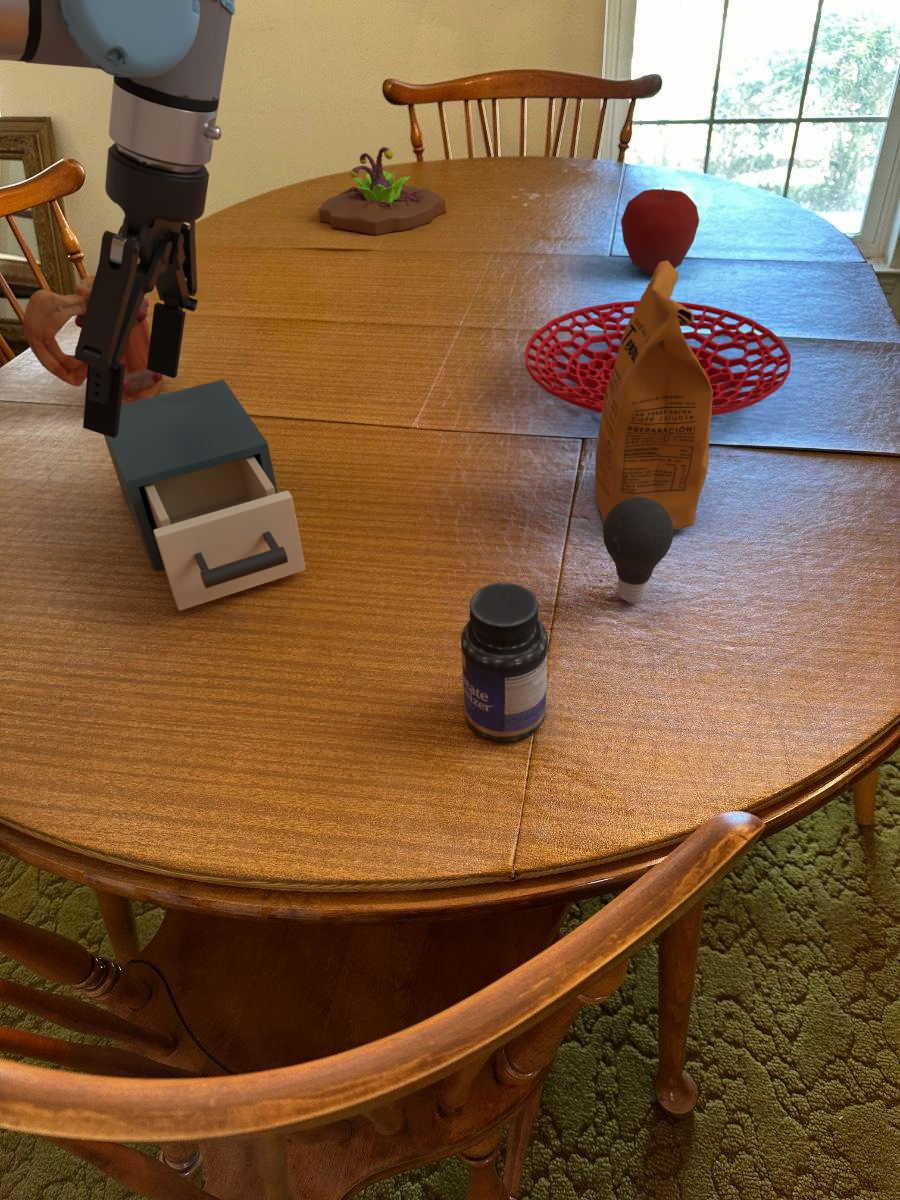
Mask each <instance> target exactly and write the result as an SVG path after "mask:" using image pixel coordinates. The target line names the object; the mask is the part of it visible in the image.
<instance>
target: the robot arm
mask: <svg viewBox="0 0 900 1200" xmlns="http://www.w3.org/2000/svg"><path fill="white" fill-rule="evenodd" d="M235 3H236V0H0V61H9V62H10V61H11V62H23V63H25V64H35V65H36V64H37V65H46V66H60V67H74V68H86V69H87V68H88V69H95V70H102V72H104V73H106V74H107V75H109V76H113V82H112V93H111V101H110V102H111V103H110V113H109V114H110V115H109V123H108V124H109V126H108V135H109V138H110V139H111V140H112V141H113V142H114V143H113V144H112V145H110V146H109V147H108V149H107V159H106V173H105V184H104V189H105V193H106V195H107V197H108V198H109V200H111V202H113V203H114V204H116V205H118V206H119V208H120V209H121V210H122V212H123V213H124V218H123V220H122V225H121V226H120V227H119V229H118V232H117V233H115V232H113V231H110V230H105V231H104V232H103V234H102V236H101V244H100V250H99V251H100V252H99V260H98V265H97V268H96V272H95V275H94V276H95V279H94V283H93V287H92V291H91V294H90V298H89V302H88V306H87V309H86V313H85V317H84V321H83V325H82V328H80V332H79V335H78V340H77V344H76V346H75V349H74V356H75V359H76V360H78V361H81V362H84V363H87V364H88V369H87V378H86V381H85V382H86V384H85V397H84V409H83V421H82V429H85V430H88V431H90V432H91V431H92V432H94V433H97V434H100V435H103V436H104V435H106V436H109V437H112V438H115V437H116V436H117V435H118V431H119V421H120V411H121V405H122V404H121V402H122V392H123V382H124V373H125V364H122V363H121V359H122V356H123V353H124V351H125V348H126V345H127V342H128V340H129V337H130V334H131V332H132V329H133V326H134V323H135V321H136V318H137V315H138V312H139V310H140V307H141V304H142V301H143V299H144V298H145V297H146V296H145V295H147V294H149V293H151V292H153V291H154V289H155V288H156V292H157V295H158V298H159V301H161V302H163V303H161V302H155V304H154V305H153V312H152V322H151V323H152V324H151V330H150V335H151V337H150V346H149V354H148V363H147V369H148V370H151V371H154V372H156V373H159V374H162V375H163V376H166V377H169V378H171V379H175V378H177V377H178V372H179V364H180V356H181V350H182V344H183V343H182V342H183V335H184V328H185V321H186V314H187V312H186V311H184V310H187V311H190V312H193V313H194V312H195V311H196V309H197V307H198V299H196V298H194V297H195V296H196V294H197V293H198V270H197V248H196V246H197V245H196V221H197V220H199V219H200V218H201V217H202V216H203V215H204V213H205V209H206V203H207V202H206V201H207V195H208V187H209V181H210V179H209V178H210V173H209V171H208V168H207V167H206V166H205V165H207V164H209V163H210V161H211V160H212V154H213V146H214V141H218V140H220V139H221V137H222V135H223V132H222V129H221V128H222V127H219V126H218V125H216V122H217V119H218V111H219V106H220V105H219V104H220V98H221V91H222V84H223V78H224V71H225V64H226V59H227V51H228V45H229V37H230V30H231V25H232V19H233V16H235V13H236V8H235Z"/></svg>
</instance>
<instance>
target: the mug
mask: <svg viewBox="0 0 900 1200" xmlns="http://www.w3.org/2000/svg"><path fill="white" fill-rule="evenodd" d="M95 276H96V275H90V276H88V277H85V278H83V279H82V280H80V282H79V283H78V284H76V286H75V293H72V294H66V295H62V294H58V293H56V292H52V291H51V290H48V289H39V290H36V291H35V292H34V293H33V294H31V295H30V297H29V299H28V302H27V304H26V307H25V310H24V314H23V332H24V336H25V339H26V341H27V344H28V345H29V348H30V349H31V352H32V353H33V355H34V357H35V358H36V359H37V360H38V362H39V363H40V365H41V366H42V367H43V368H44V369H46V371H48V372H49V373H50V374H52V375H53V376H55V377H56V378H58V379H59V380H61V381H63V382H65V383H66V384H69V385H71V386H74V387H80V386H82V385H83V384H84V382H85V381H86V380H87V369H88V364H87V363H84V362H81V361H78V360H76V359H75V355H73V354H66V353H65V352H63V350H62V348H61V347H60V345H59V343H58V341H57V340H56V335H57V334H58V333H59V332H60V331H61V330H62V329H63V328H64V327H65V325H66V324H67V323H68V322H69V320H71V318H72V317H75V319H74V324H75V325H76V327H78V328H80V329H81V328H82V325H83V321H84V317H85V313H86V309H87V306H88V302H89V298H90V294H91V291H92V287H93V283H94V279H95ZM149 306H150V303H149V299H147V298H145V297H144V299H143V301H142V304H141V307H140V310H139V312H138V315H137V318H136V321H135V323H134V326H133V329H132V332H131V334H130V337H129V340H128V342H127V345H126V348H125V351H124V353H123V356H122V359H121V363H122V364H125V373H124V382H123V392H122V402H121V405H122V404H126V403H130V402H134V401H138V400H142V399H146V398H150V397H154V396H158V394H159V393H160V391H161V390H162V389H163V387H164V380H163V377H164V375H162V374H159V373H156V372H154V371H151V370H148V369H147V363H148V354H149V346H150V337H151V330H150V325H149V323H148V320H147V317H148V315H149V314H148V308H149Z"/></svg>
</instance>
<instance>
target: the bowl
mask: <svg viewBox="0 0 900 1200" xmlns="http://www.w3.org/2000/svg"><path fill="white" fill-rule="evenodd" d="M639 302H640V300H629V301H615V302H610V303H603V304H599V305H593V306H588V307H584V308H580V309H577V310H573V311H570V312H568V313H565V314H563V315H560V316H558V317H556V318H553V319H552V320H551V319H550V321H549V322H547V323H546V324H545V325H543V326H541V327H540V328H539V329H538V330H536V331H535V332H534V334H533V335H532V336H531V337H530V338H529V339H528V341H527V344H526V347H525V350H524V362H525V368H526V370H527V372H528V373H529V375H530V377H531V379H532V380H533V381H535V383H536V384H538V385H539V386H540V387H541V388H542V389H544V390H545V391H546V392H547V393H548V394H550V395H552V396H554V397H556V398H558V399H560V400H562V401H564V402H565V403H569V404H571V405H572V406H573V405H574V406H577V407H579V408H583V409H586V410H589V411H593V412H596V413H600V414H602V406H603V400H604V396H605V393H606V390H607V386H608V383H609V380H610V377H611V374H612V371H613V368H614V365H615V361H616V357H617V355H618V351H619V345H620V343H619V344H618V343H613V342H612V341H614V340H615V341H616V340H619V341H621V340H622V337H623V334H624V331H625V329H626V327H627V324H628V323H621V322H622V321H624V320H625V319H626V320H628V319H629V320H630V318H631V317H632V315H633V313H634V312H635V310H636V308H637V306H638V304H639ZM677 302H678V303H679V304H681V305H682V306H684V307H686V308H687V309H689V310H690V311H696V312H697V311H699V312H702V314H692V315H693V317H694V321H693V323H691V324H688V325H686V324H682V323H681V324H680V327H690V328H691V329H693V331H685V332H682V333H683V336H684V338H685V340H695V341H696V342H698V343H699V344H701V345H700V346H699V347H697V346H690V345H689V347H690V348H691V350H692V351H693V353H694V355H695V356H696V358H697V360H698V361H699V363H700V365H701V367H702V368H703V370H704V372H705V374H706V376H707V378H708V380H709V382H710V385H711V387H712V390H713V396H712V412H711V417H713V416H718V415H719V416H720V415H723V414H728V413H733V412H735V411H739V410H743V409H745V408H749V407H751V406H753V405H756V404H758V403H760V402H762V401H764V400H765V399H767V398H768V397H770V396H771V395H772V394H774V393H775V392H777V391H778V390H779V389H780V388H781V387H782V386H783V385H784V384H785V382H786V380H787V379H788V376H789V375H790V372H791V364H792V363H791V361H792V354H791V353H790V352H789V350H788V348H787V346H786V345H785V343H784V342H783V340H782V339H781V338H780V337H779V336H778V335H776V334H775V333H774V332H773V331H772V330H770V329H769V328H767V327H765V326H763V325H762V324H760V323H758V322H757V321H755V320H753V319H751V318H749V317H746V316H744V315H740V314H739V313H735V312H732V311H730V310H727V309H723V308H718V307H714V306H709V305H705V304H697V303H690V302H684V301H677ZM625 308H626V309H627V308H633V312H626V311H624V309H625ZM608 310H609V311H608ZM706 313H707V314H708V313H709V314H712V315H716V316H717V317H715V316H711V315H707V314H706ZM590 314H594V315H596V316H597V317H592V316H591V315H590ZM614 314H620V315H619V316H613V315H614ZM580 316H582V317H583V318H584V319H585V320H586V321H584V322H583V321H579V320H577V317H580ZM725 318H728V319H730V320H733V321H736V323H726V322H725V321H723V320H724V319H725ZM568 320H571V323H570V324H569V325H561V323H563V322H566V321H568ZM697 321H698V322H697ZM744 325H747V326H749V327H751V329H750V330H749V331H747V332H743V331H741V330H740V328H741V327H742V326H743V327H744ZM554 326H555V328H554V329H553V327H554ZM590 326H595V327H596V328H599V329H600V330H602V332H603V334H597V335H592V336H590V335H589V334H588V333H587V332H585V328H588V327H590ZM716 326H717V327H719V329H716V328H715V327H716ZM576 327H578V328H580V329H581V330H577V331H575V330H574V329H575V328H576ZM698 330H709V331H710V334H709V335H708V336H707V337H706V336H705V335H703V334H700V333H699V332H698ZM755 330H756V331H758V332H759V333H761V334H757V332H755ZM608 331H609V332H608ZM546 332H549V334H548V335H547V336H546V337H544V336H543V335H544V334H545V333H546ZM558 333H569V334H570V335H571V338H570V339H568V340H560V339H559V338H558V336H557V335H558ZM720 336H724V337H725V336H726V337H728V338H731V339H732V340H731V341H727V342H724V343H717V342H715V341H714V338H715V337H720ZM578 338H582V339H583V340H584V342H583V343H582V344H579V342H577V341H575V340H576V339H578ZM766 338H769V339H770V340H771V341H772V342H773V343H774V344H772V345H770V346H769V345H767V344H764V343H763V341H762V340H765V339H766ZM537 340H538V341H540V344H539V345H536V344H535V342H536V341H537ZM552 341H553V342H554V343H553V344H551V342H552ZM741 341H743V342H741ZM599 343H605V344H606V346H607V349H606V350H597V351H596V350H595V351H594V350H592V349H590V348H589V347H590V346H591V345H592V344H599ZM753 343H756V344H757V345H758V347H757V348H747V346H748V344H753ZM545 348H547V349H546V350H544V349H545ZM564 348H565V349H566V348H573V349H574V350H575V351H574V352H573V353H570V352H568V350H565V349H564ZM707 348H708V349H710V350H708V349H707ZM778 348H779V350H780V351H781V353H782V354H779V355H777V356H776V355H774V354H772V353H771V352H773V351H775V350H777V349H778ZM730 349H737V350H742V351H743V355H742V356H741V357H735V358H727V357H724V356H723V355H720V354H719V352H723V351H726V350H730ZM530 350H533V351H535V352H536V353H535V355H534V354H531V353H530ZM614 354H616V355H614ZM582 355H583V356H585V357H586V358H588V359H590V360H589V361H587V362H584V361H583V362H581V361H579V360H578V359H579V358H580V357H581V356H582ZM755 355H756V356H759V358H756V359H754V360H751V361H750V360H748V359H747V358H748V357H751V356H755ZM540 356H543V357H540ZM560 356H562V357H563V358H565V359H566V360H567V363H566V362H564V361H561V360H559V359H558V358H557V357H560ZM549 359H551V360H552V361H550V360H549ZM529 360H531V361H533V362H535V364H532V363H529ZM540 364H541V365H544V367H542V366H540ZM713 364H716V365H718V366H720V367H718V366H714V365H713ZM759 365H760V366H759ZM771 365H775V366H774V368H773V369H772V370H768V371H764V369H766V368H767V367H769V366H771ZM785 365H786V369H785V370H783V371H781V372H779V373H777V371H779V369H780V367H783V366H785ZM736 366H737V367H738V366H742V367H745V369H746V370H743V371H735V372H733V370H731V368H732V367H736ZM757 366H759V367H758V368H756V369H753V368H755V367H757ZM555 368H558V369H561V370H563V371H557V370H555ZM535 372H536V373H537V374H536V373H535ZM755 376H757V377H758V378H756V379H755V378H754V379H748V378H752V377H755ZM563 380H568V381H570V382H572V383H574V384H576V385H577V386H570V385H569V384H568V383H566V382H564V381H563ZM751 387H752V388H751ZM743 388H751V389H750V390H745V391H741V390H742V389H743Z"/></svg>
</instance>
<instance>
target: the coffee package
mask: <svg viewBox="0 0 900 1200" xmlns="http://www.w3.org/2000/svg"><path fill="white" fill-rule="evenodd" d="M678 278H679V272H678V270H676V268H675V269H674V267H673V266H672V265H671V264H670V263H669V261H663V262H660V263H659V264H658V266H657V267H656V269H655V272H654V274H652V276H651V279H650V281H649V283H648V284H647V286H646V288H645V290H644V291H643V294H642V295H641V296H640V300H639V301H640V302H639V304H638V306H637V308H636V310H635V312H634V311H633V312H634V313H633V312H632V313H633V315H632V317H631V318H630V319H629V320H628V323H626V324H627V327H626V329H625V331H623V337H622V340H620V343H619V344H620V345H619V351H618V354H616V361H615V365H614V368H613V371H612V374H611V377H610V380H609V383H608V386H607V390H606V393H605V396H604V400H603V406H602V413H601V417H600V424H599V430H598V436H597V444H596V453H595V454H596V455H595V465H594V466H595V468H594V497H595V500H596V501H595V502H596V504H597V505H596V506H597V508H598V510H599V513H600V516H601V519H602V522H603V523H604V522H605V520H606V518H607V515H608V514H609V512H610V511H611V510H612V509H613V507H615V506H616V505H617V504H618V503H620V502H622V501H624V500H626V499H628V498H632V497H645V498H650V499H652V500H654V501H656V502H658V503H659V504H661V505H662V506H663V507H664V508H665V509H666V511H667V512H668V513H669V515H670V517H671V520H672V523H673V531H676V530H680V529H684V528H690V527H694V525H695V523H696V522H695V521H696V515H697V514H696V513H697V509H698V501H699V499H700V496H701V493H702V490H703V487H704V485H705V482H706V478H707V474H708V469H709V468H708V467H709V450H710V436H711V426H712V425H711V423H712V416H711V412H712V407H713V406H712V396H713V390H712V387H711V385H710V382H709V380H708V378H707V376H706V374H705V372H704V370H703V368H702V367H701V365H700V363H699V361H698V360H697V358H696V356H695V355H694V353H693V351H692V350H691V348H690V347H689V346H690V345H689V343H688V342H687V339H685V338H684V336H683V333H684V332H683V330H682V328H681V326H680V324H681V323H682V324H686V325H688V324H691V323H693V322H695V321H694V317H693V315H694V314H693V312H692V310H691V309H687V308H686V307H684V306H682V305H681V304H679V303H678V302H679V301H676V300H673V299H672V298H671V297H672V295H673V293H674V288H675V286H676V284H677V282H678Z"/></svg>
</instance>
